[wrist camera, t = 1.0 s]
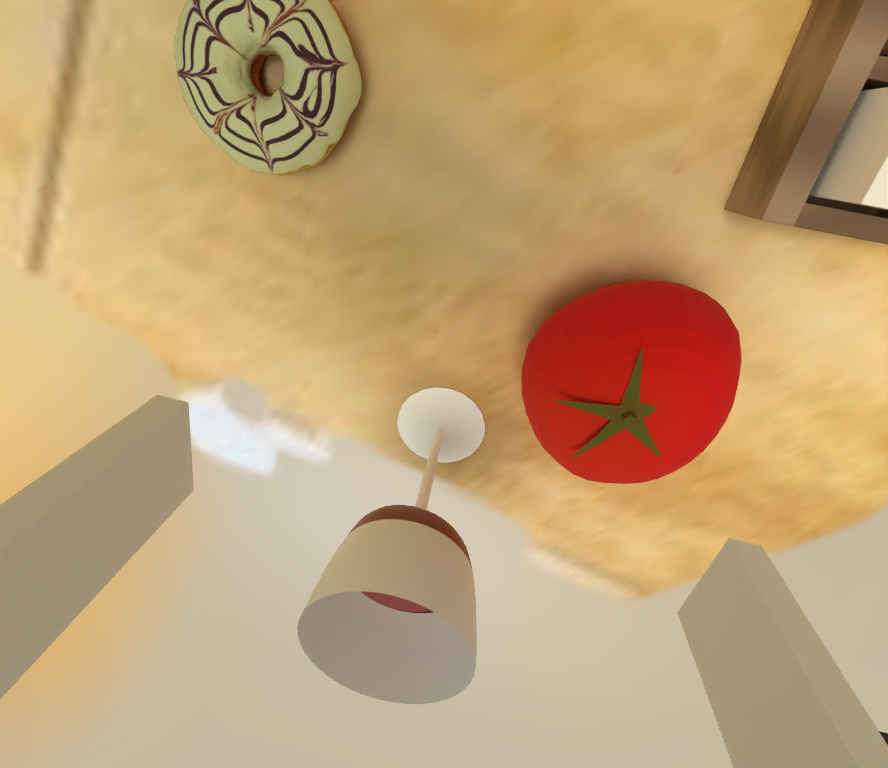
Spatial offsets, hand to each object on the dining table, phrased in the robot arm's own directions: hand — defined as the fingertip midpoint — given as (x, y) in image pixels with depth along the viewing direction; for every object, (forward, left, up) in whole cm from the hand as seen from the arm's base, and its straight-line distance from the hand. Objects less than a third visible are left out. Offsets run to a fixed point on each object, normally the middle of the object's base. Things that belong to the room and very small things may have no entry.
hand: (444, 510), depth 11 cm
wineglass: (+14, -1, -25) cm, 28 cm away
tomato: (+4, +10, -25) cm, 27 cm away
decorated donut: (-9, -15, -25) cm, 31 cm away
